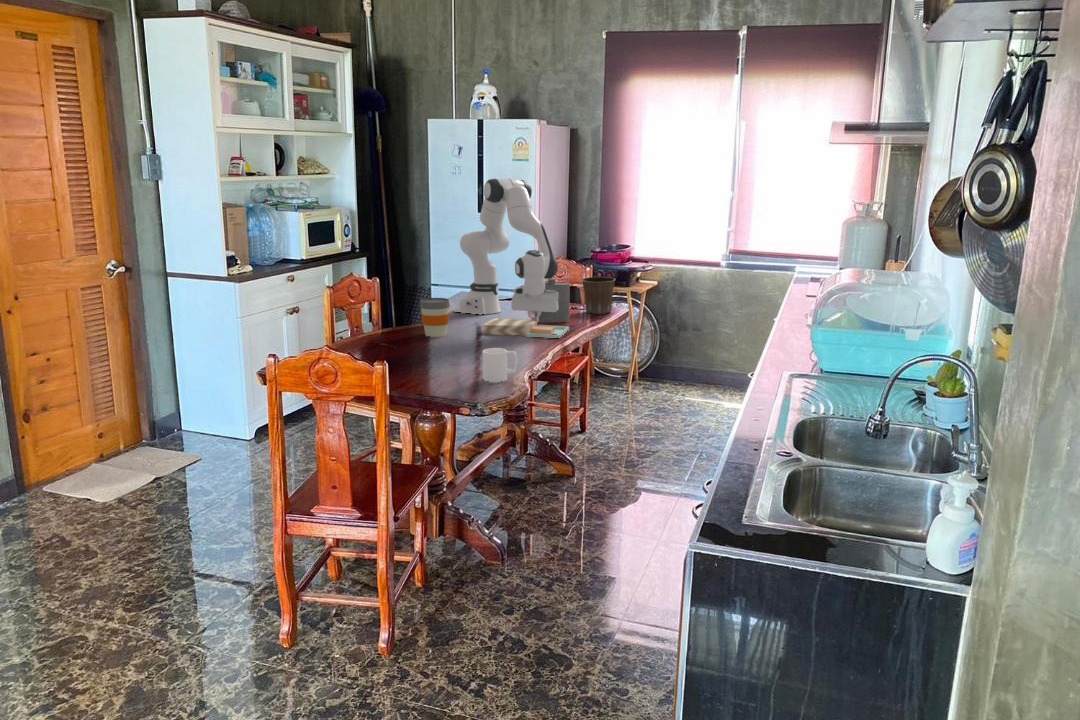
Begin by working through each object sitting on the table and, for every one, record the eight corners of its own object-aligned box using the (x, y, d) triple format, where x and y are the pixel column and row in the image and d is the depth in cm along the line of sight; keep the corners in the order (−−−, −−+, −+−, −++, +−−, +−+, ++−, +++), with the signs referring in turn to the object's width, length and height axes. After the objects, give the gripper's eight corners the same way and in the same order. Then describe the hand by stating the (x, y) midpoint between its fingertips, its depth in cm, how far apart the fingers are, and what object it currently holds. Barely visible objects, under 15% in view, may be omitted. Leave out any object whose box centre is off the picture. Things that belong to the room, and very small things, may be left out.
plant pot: (586, 316, 386) (587, 282, 382) (577, 309, 401) (577, 277, 397) (619, 314, 390) (620, 281, 386) (608, 308, 405) (609, 276, 401)
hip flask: (569, 321, 375) (570, 277, 370) (568, 323, 371) (568, 279, 366) (535, 320, 378) (535, 277, 373) (534, 322, 374) (533, 278, 369)
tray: (526, 337, 343) (526, 333, 343) (538, 328, 360) (538, 324, 360) (559, 339, 340) (559, 335, 339) (569, 330, 356) (569, 326, 356)
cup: (516, 382, 277) (516, 354, 274) (481, 382, 278) (480, 353, 275) (519, 376, 284) (519, 348, 282) (485, 375, 286) (484, 347, 283)
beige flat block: (483, 333, 350) (483, 324, 349) (493, 327, 363) (493, 318, 362) (528, 336, 345) (528, 327, 344) (537, 329, 358) (537, 320, 357)
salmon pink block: (530, 333, 348) (530, 328, 348) (534, 330, 354) (534, 326, 354) (551, 334, 346) (551, 330, 346) (554, 331, 352) (554, 327, 351)
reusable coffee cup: (433, 330, 357) (431, 296, 353) (456, 333, 351) (455, 299, 347) (415, 336, 346) (413, 301, 343) (439, 339, 340) (437, 303, 337)
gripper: (560, 289, 347) (560, 321, 350) (514, 287, 352) (514, 318, 356) (556, 291, 341) (556, 323, 344) (509, 289, 346) (510, 321, 350)
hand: (535, 321), depth 350 cm, fingers closed
